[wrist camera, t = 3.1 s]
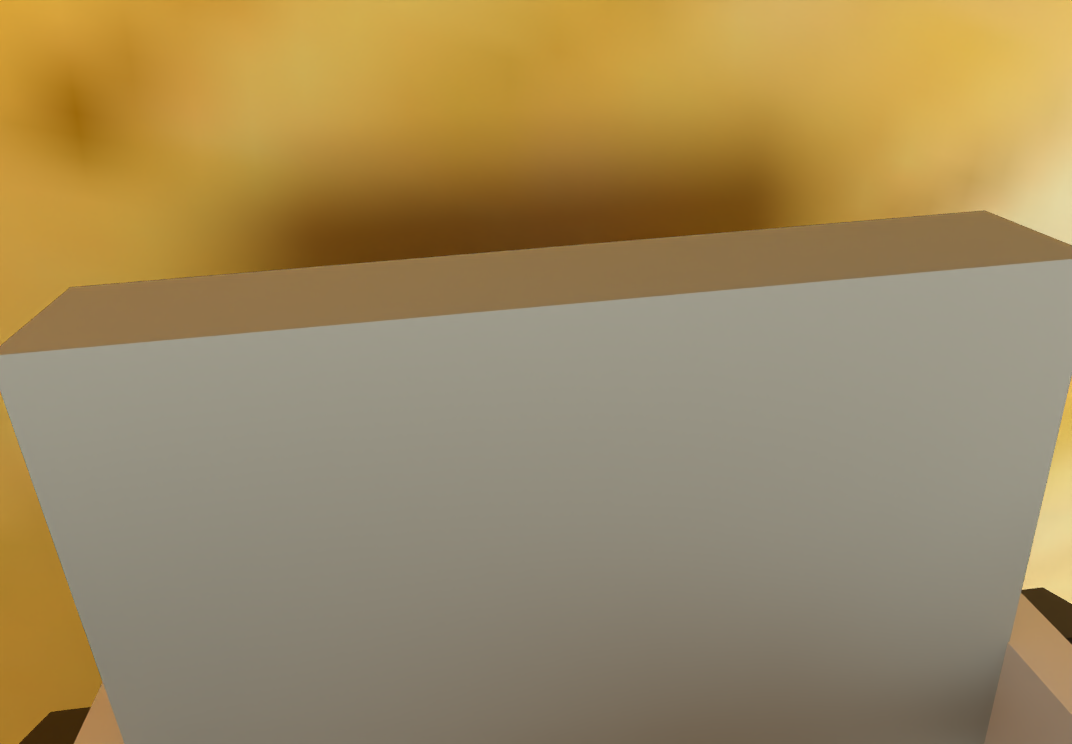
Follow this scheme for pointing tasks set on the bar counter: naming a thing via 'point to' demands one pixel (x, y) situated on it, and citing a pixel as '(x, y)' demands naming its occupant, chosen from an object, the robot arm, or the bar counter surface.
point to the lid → (559, 487)
